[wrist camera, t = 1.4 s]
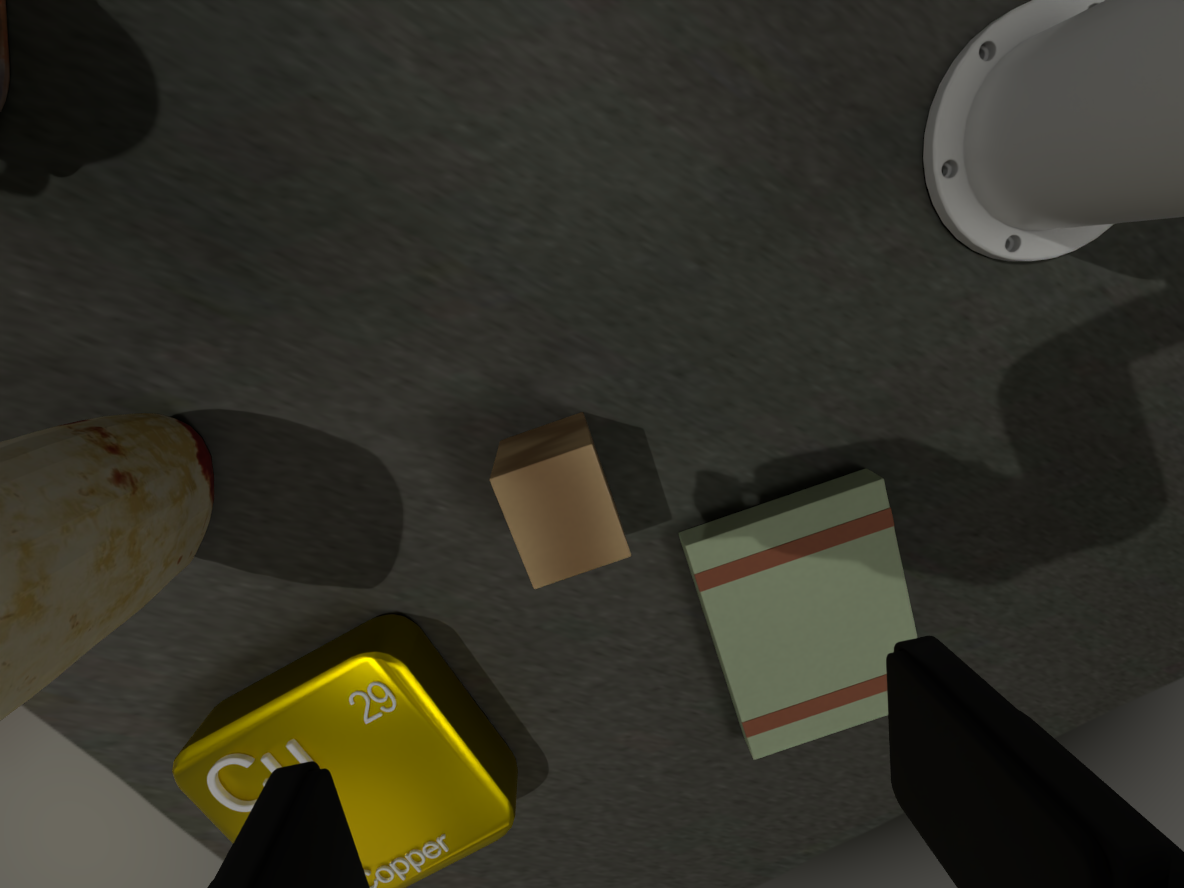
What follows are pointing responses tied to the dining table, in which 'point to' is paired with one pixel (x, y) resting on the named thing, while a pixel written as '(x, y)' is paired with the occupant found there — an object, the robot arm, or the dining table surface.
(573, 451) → the block
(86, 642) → the food model
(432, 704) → the element tile
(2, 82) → the tin
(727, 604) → the towel
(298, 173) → the dining table surface
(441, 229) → the dining table surface
